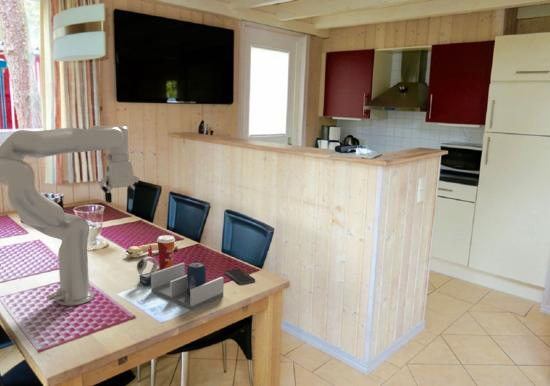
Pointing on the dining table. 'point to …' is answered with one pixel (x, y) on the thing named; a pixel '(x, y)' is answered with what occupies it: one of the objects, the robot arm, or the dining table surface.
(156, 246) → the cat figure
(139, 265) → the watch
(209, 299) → the drying rack
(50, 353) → the dining table surface
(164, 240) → the paper cup
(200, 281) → the soda can
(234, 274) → the phone
